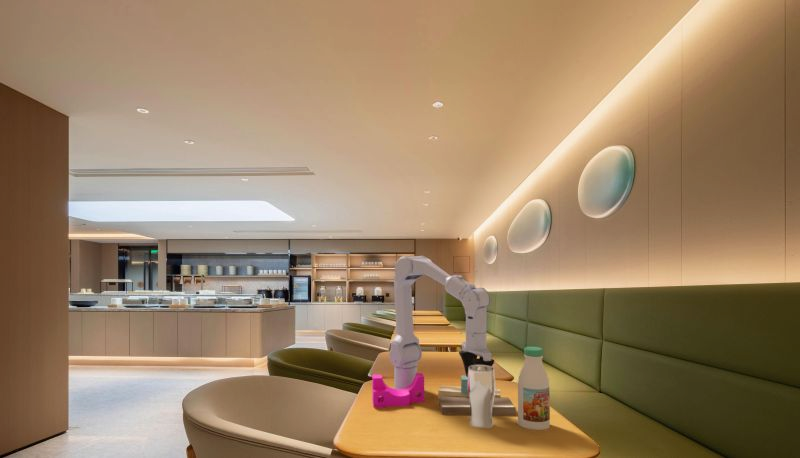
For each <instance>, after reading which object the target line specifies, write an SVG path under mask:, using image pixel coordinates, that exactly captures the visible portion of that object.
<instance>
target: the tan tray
mask: <svg viewBox="0 0 800 458" xmlns="http://www.w3.org/2000/svg"><path fill="white" fill-rule="evenodd" d="M437 392H438V394H437V395H438V396H437V397H438V398H437V399H438V401H439V397H469V395H468V394H467V393H461V386H453V385H440V386H439V388H438V391H437ZM495 397H501V389H496V388H495Z"/></svg>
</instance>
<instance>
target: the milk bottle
mask: <svg viewBox="0 0 800 458" xmlns="http://www.w3.org/2000/svg"><path fill="white" fill-rule="evenodd" d="M523 353H524V354H523V357H524V362H523V363H524V364H523V365H522V368H521V370H520V373H519V374H518V381H517V425H518V426H520V427H522V428H523V429H529V430H536V431H538V430H539V431H542V430H543V431H544V430H547V429H549V428H550V426H551V425H550V424H551V422H550V421H551V420H550V419H551V418H550V417H551V415H550V412H551V408H550V406H551V404H550V402H551V401H550V398H551V397H550V381H549V380H550V379H549V377H548V374H547V371H546V370H545V367H544V363H543V358H544V349H543V348H542V347H540V346H539V347H538V346H526V347H524V349H523Z"/></svg>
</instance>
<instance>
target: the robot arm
mask: <svg viewBox="0 0 800 458" xmlns="http://www.w3.org/2000/svg"><path fill="white" fill-rule="evenodd" d="M425 275H426V276H428V277H430V279H433V280H434V281H436V282H438V283H440V284H441V285H442V286H444V289H445V291H446V292H447V293H448V294H449V295H451V296H452V297H454V298H456V299H457V300H458V301H460V302H461V304H462V307H463V308H464V314H465V341H462V342H461V351H458V354H459V356H460V358H461V361H462V363H463V369H464V371H465V372H464V373H465V376H466V377H468V367H469V366H471V365H488V366H492V367H493V365H494V364H495V360H494V359H493V358H492V352H490V350H489V349H488V347H487V307H488V306H489V305H490V304H491V295H490V293H489V292H488V291H487V290H486V288H484V287H476V284H474V283H470V282H469V281H467V280H465V279H464V276H462V275H461V274H453V275H450V274H449V273H447V272H446V271H445V270H443V269H442V268H440V267H439V266H438V265H437V264H436V263H434V262H432V260H431V259H430V258H428V257H426V256H424V255H419V256H417V255H414V256H412V255H411V256H405V255H403V256H400V257H399V258H398V260H396V262H395V263H394V279H393V288H394V289H393V290H394V306H395V307H394V309H395V311H394V313H395V329H396V335H395V337H393V339H392V340H391V341H390V350H389V352H388V357H389V362H390V364H392V367H394V371H393V372H394V374H393V376H394V377H393V378H394V379H393V381H394V383H393V385H394V387H393V389H403V388H406V387H407V386H409V385H410V384H411V383H412V381H413V380H414V378H415V373H418V365H419V361H420V360H421V358H422V355H423V351H422V348H421V345H420V339H419V337H417V336H416V335H415V333H414V316H413V300H412V296H413V295H412V285H413V284H414V283H415V282H416V281H417V279H419V278H422V277H423V276H425ZM478 357H479V358H478Z"/></svg>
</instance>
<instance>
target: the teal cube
mask: <svg viewBox="0 0 800 458" xmlns="http://www.w3.org/2000/svg"><path fill="white" fill-rule="evenodd" d="M460 376H461V377H460V379H461V380H460V387H461V393H467V394H468V377H466V375H460Z"/></svg>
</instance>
